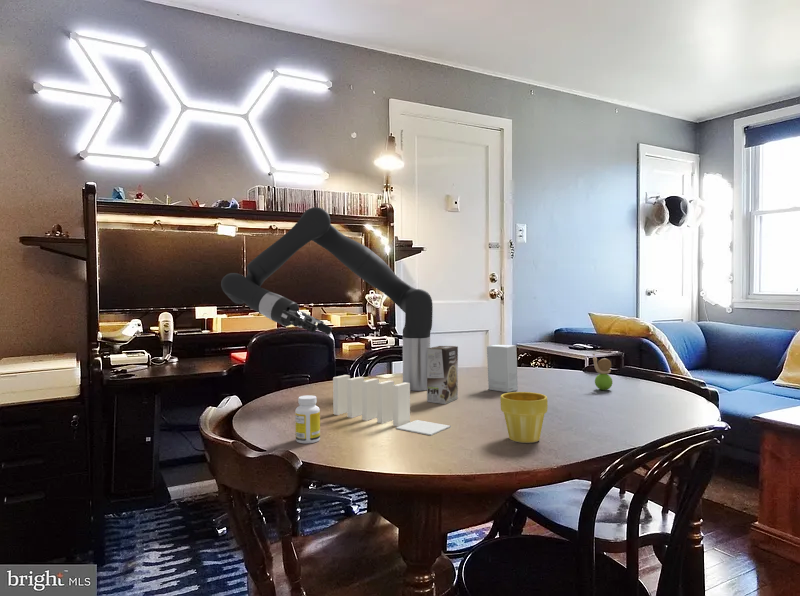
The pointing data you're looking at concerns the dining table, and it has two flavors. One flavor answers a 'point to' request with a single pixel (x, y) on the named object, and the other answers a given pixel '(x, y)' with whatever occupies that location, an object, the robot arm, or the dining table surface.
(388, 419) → the domino
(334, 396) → the domino
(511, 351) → the skincare box
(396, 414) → the domino
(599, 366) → the snail figurine
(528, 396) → the plant pot
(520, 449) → the dining table surface
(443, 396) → the coffee box
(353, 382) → the domino
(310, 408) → the supplement bottle
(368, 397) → the domino
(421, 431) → the felt pad
